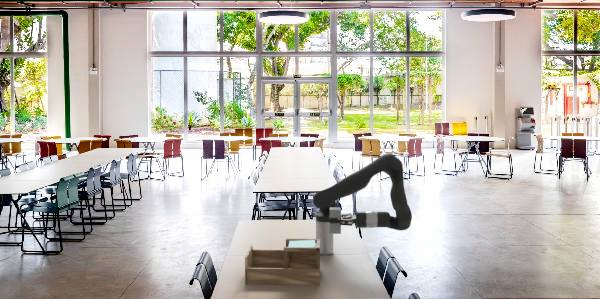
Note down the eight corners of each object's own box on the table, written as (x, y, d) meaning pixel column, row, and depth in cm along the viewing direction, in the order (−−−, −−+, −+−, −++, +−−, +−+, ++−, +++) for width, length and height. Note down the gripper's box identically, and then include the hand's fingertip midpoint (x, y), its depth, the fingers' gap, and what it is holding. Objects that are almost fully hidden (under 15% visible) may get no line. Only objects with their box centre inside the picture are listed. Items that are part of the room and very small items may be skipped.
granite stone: (329, 230, 276) (329, 207, 275) (340, 230, 276) (340, 207, 275) (329, 233, 272) (329, 209, 270) (340, 233, 271) (340, 209, 270)
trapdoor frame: (250, 269, 288) (250, 236, 286) (320, 270, 286) (320, 237, 285) (245, 283, 268) (244, 248, 266) (319, 284, 267) (319, 249, 265)
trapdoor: (289, 242, 281) (289, 240, 281) (315, 242, 281) (315, 239, 281) (288, 249, 269) (287, 247, 269) (314, 249, 269) (314, 247, 269)
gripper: (365, 207, 279) (329, 207, 280) (367, 214, 265) (329, 214, 266) (365, 223, 280) (329, 223, 281) (367, 231, 266) (329, 231, 267)
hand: (329, 219), depth 273 cm, fingers closed on granite stone, 5 cm apart
